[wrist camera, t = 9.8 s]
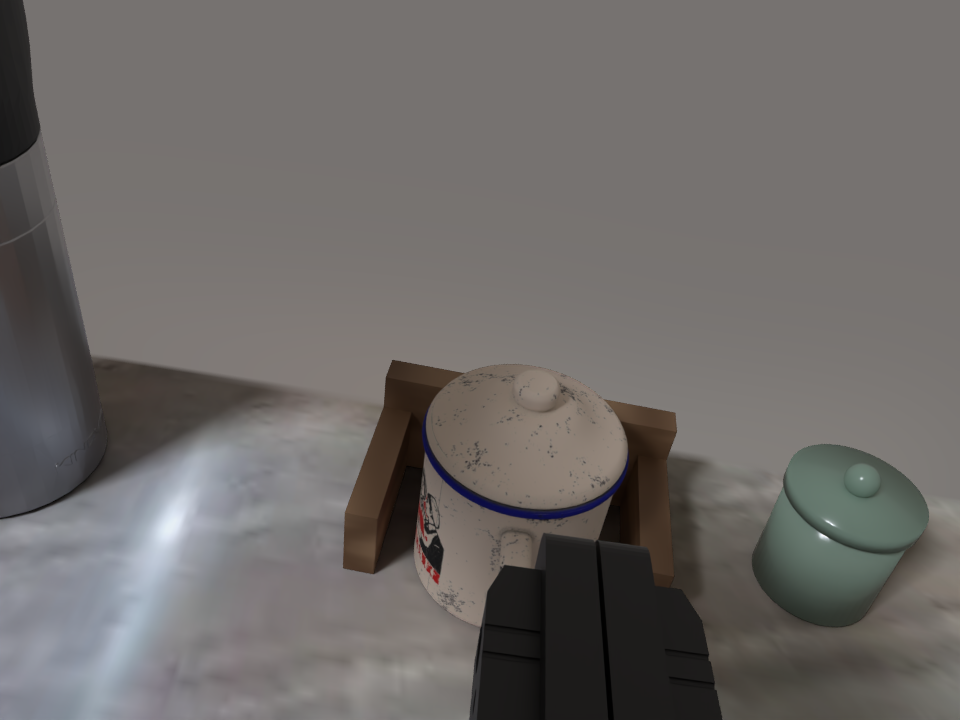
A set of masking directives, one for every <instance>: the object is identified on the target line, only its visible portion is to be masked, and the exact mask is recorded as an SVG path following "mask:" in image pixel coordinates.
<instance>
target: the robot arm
mask: <svg viewBox="0 0 960 720" xmlns="http://www.w3.org/2000/svg"><path fill="white" fill-rule="evenodd" d="M106 445H107V429H106V425H105V420H104V415H103V411H102V406H101V402H100V397H99V393H98V388H97V383H96V379H95V373H94V368H93V364H92V359H91V355H90V350H89V346H88V342H87V337H86V333H85V328H84V324H83V319H82V314H81V310H80V305H79V300H78V296H77V291H76V287H75V283H74V278H73V273H72V269H71V264H70V260H69V255H68V251H67V246H66V242H65V237H64V233H63V228H62V224H61V219H60V215H59V210H58V206H57V201H56V197H55V193H54V189H53V184H52V179H51V174H50V170H49V165H48V161H47V156H46V152H45V147H44V142H43V139H42V133H41V129H40V123H39V118H38V113H37V109H36V105H35V99H34V92H33V84H32V70H31V57H30V44H29V36H28V30H27V22H26V15H25V10H24V5H23V0H0V517H7V516H11V515H15V514H19V513H23V512H27V511H30V510H33V509H36V508H38V507H41V506H43V505H46V504H48V503H51V502H52V501H54V500H56V499H58V498H60V497H61V496H63V495H65V494H67V493H69V492H70V491H71V490H73V489H74V488H75V487H77V486H78V485H79V484H80V483H82V482H83V481H84V480H85V479H86V478H87V477H88V476H89V475H90V474H91V473H92V472H93V471H94V469H95V468H96V467H97V465H98V464H99V462H100V460H101V459H102V457H103V455H104V452H105V449H106ZM708 656H709V653H708V648H707V643H706V638H705V634H704V629H703V624H702V620H701V619H700V617H699V616H698V614H697V613H696V611H695V610H694V608H693V607H692V605H691V604H690V602H689V601H688V599H687V598H686V596H685V595H684V593H683V591H682V590H681V589H674V588H667V587H660V586H655V582H654V576H653V569H652V563H651V557H650V552H649V550H648V548H647V547H643V546H636V545H629V544H622V543H615V542H607V541H600V540H596V541H595V542H594V540H592V539H585V538H578V537H570V536H563V535H556V534H549V533H543V535H542V538H541V542H540V546H539V551H538V555H537V560H536V564H535V569H531V568H524V567H517V566H510V565H504V566H503V568H502V569H501V571H500V572H499V574H498V575H497V577H496V578H495V580H494V582H493V583H492V585H491V586H490V588H489V589H488V591H487V596H486V602H485V607H484V613H483V618H482V624H481V629H480V635H479V640H478V646H477V651H476V657H475V664H474V675H473V686H472V698H471V707H470V718H469V720H722V715H721V710H720V706H719V701H718V696H717V691H716V690H714V684H715V682H714V677H713V672H712V667H711V662H710V661H708Z"/></svg>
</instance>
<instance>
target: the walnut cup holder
mask: <svg viewBox="0 0 960 720" xmlns="http://www.w3.org/2000/svg"><path fill="white" fill-rule="evenodd" d="M463 374H465V373H460V372H454V371H449V370H444V369H439V368H433V367H428V366H422V365H417V364H412V363H407V362H401V361H395V360H392V363H391V365H390V368H389V371H388V373H387V376H386V383H385V398H384V408H383V410H382V413H381V416H380V419H379V421H378V424H377V427H376V429H375V432H374V435H373V438H372V440H371V443H370V446H369V448H368V451H367V454H366V457H365V459H364V462H363V465H362V468H361V470H360V473H359V476H358V478H357V481H356V484H355V487H354V489H353V492H352V495H351V497H350V500H349V503H348V506H347V508H346V511H345V525H344V556H343V568H345V569H350V570H355V571H360V572H365V573H370V574H374V571H375V568H376V564H377V561H378V558H379V555H380V551H381V548H382V545H383V541H384V538H385V535H386V532H387V528H388V525H389V522H390V518H391V515H392V512H393V509H394V505H395V502H396V499H397V495H398V492H399V489H400V486H401V482H402V479H403V476H404V472H405V469H406V466H412V467H417V468H422V469H423V466H424V458H425V449H424V446H423V440H422V427H423V421H424V417H425V414H426V412H427V410H428V408H429V406H430V404H431V403H432V401H433V400H434V398H435V397H436V395H437V394H438V393H439V392H440V391H441V390H442V389H443V388H444V387H445V386H446V385H447V384H448V383H450V382H451V381H452V380H454V379H455V378H457V377H459V376H461V375H463ZM603 400H604V399H603ZM604 401H606V402H607V404H608V405H609V406H610V407H611V408H612V409H613V411H614V412H615V414H616V415H617V417H618V419H619V420H620V422H621V424H622V427H623V429H624V432H625V435H626V438H627V444H628V452H629V461H628V468H627V472H626V475H625V477H624V480H623V482H622V483H621V485H620V487H619V488H618V489H617V490H616V492H615V493H614V494H613V496H612V499H611V502H610V505H615V506H620V543H622V544H629V545H636V546H643V547H647V548H648V550H649V552H650V557H651V563H652V569H653V576H654V582H655V586H660V587H667V588H670V585H671V583H672V581H673V579H674V565H673V550H672V535H671V521H670V506H669V491H668V477H667V462H666V460H667V457H668V454H669V452H670V449H671V446H672V444H673V441H674V438H675V436H676V433H677V427H676V416H675V413H673V412H668V411H663V410H657V409H652V408H647V407H642V406H636V405H631V404H625V403H620V402H615V401H609V400H604Z"/></svg>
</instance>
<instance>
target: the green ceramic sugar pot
mask: <svg viewBox="0 0 960 720" xmlns="http://www.w3.org/2000/svg"><path fill="white" fill-rule="evenodd" d="M928 520H929V511H928V507H927V504H926V502H925V500H924V498H923V496H922V494H921V493H920V491H919V490H918V489H917V487H916V486H915V485H914V484H913V483H912V482H911V481H910V480H909V479H908V478H907V477H906V476H905V475H903V474H902V473H901V472H900V471H898V470H897V469H896V468H894V467H893V466H891V465H890V464H888V463H886V462H884V461H883V460H881V459H879V458H877V457H875V456H873V455H871V454H868V453H865V452H863V451H860V450H857V449H854V448H850V447H846V446H840V445H831V444H820V445H813V446H808V447H806V448H803V449H801V450H800V451H798V452H797V453H796V454H795V455H794V456H793V457H792V459H791V461H790V463H789V465H788V467H787V469H786V472H785V474H784V479H783V489H782V491H781V493H780V495H779V497H778V499H777V502H776V504H775V506H774V508H773V510H772V512H771V515H770V517H769V519H768V521H767V523H766V525H765V528H764V530H763V532H762V534H761V536H760V538H759V541H758V543H757V545H756V547H755V549H754V552H753V556H752V567H753V571H754V574H755V577H756V579H757V581H758V583H759V584H760V586H761V587H762V589H763V590H764V591H765V592H766V593H767V595H768V596H769V597H770V598H771V599H772V600H773V601H774V602H776V603H777V604H778V605H779V606H781V607H782V608H783V609H785V610H786V611H788V612H789V613H791V614H793V615H794V616H797V617H799V618H801V619H803V620H806V621H808V622H811V623H814V624H818V625H823V626H831V627H839V626H847V625H850V624H853V623H855V622H857V621H859V620H860V619H861V618H863V617H864V615H865V614H866V613H867V611H868V610H869V608H870V606H871V605H872V603H873V602H874V600H875V598H876V597H877V595H878V594H879V592H880V590H881V589H882V587H883V586H884V584H885V582H886V581H887V579H888V578H889V576H890V574H891V573H892V571H893V570H894V568H895V566H896V565H897V563H898V562H899V560H900V558H901V557H902V555H903V554H904V552H905V550H906V549H908V548H910V547H911V546H913V545H914V544H915V543H916V542H917V540H918V539H919V537H920V536H921V534H922V533H923V531H924V530H925V528H926V526H927V524H928Z"/></svg>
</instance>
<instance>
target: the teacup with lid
mask: <svg viewBox="0 0 960 720" xmlns="http://www.w3.org/2000/svg"><path fill="white" fill-rule="evenodd" d="M422 440H423V446H424V449H425V458H424V466H423V475H422V484H421V492H420V501H419V509H418V518H417V526H416V535H415V544H414V558H415V565H416V569H417V572H418V575H419V577H420V579H421V581H422V583H423V585H424V587H425V588H426V590H427V591H428V593H429V594H430V595H431V596H432V598H433V599H434V600H435V601H436V602H437V603H438V604H439V605H440V606H442V607H443V608H444V609H445V610H446V611H448V612H449V613H451V614H452V615H454V616H456V617H457V618H459V619H461V620H463V621H465V622H467V623H470V624H472V625H475V626H478V627H481V624H482V618H483V613H484V607H485V602H486V596H487V591H488V589H489V588H490V586H491V585H492V583H493V582H494V580H495V578H496V577H497V575H498V574H499V572H500V571H501V569H502V568H503V566H504V565H510V566H517V567H524V568H531V569H535V564H536V560H537V555H538V551H539V546H540V542H541V538H542V535H543V533H549V534H556V535H563V536H570V537H578V538H585V539H592V540H594V542H595V541H596V540H598V538H599V535H600V532H601V529H602V526H603V523H604V520H605V517H606V514H607V511H608V508H609V505H610V502H611V499H612V496H613V494H614V493H615V492H616V490H617V489H618V488H619V487H620V485H621V483H622V482H623V480H624V477H625V475H626V472H627V468H628V461H629V452H628V444H627V438H626V435H625V432H624V429H623V427H622V424H621V422H620V420H619V419H618V417H617V415H616V414H615V412H614V411H613V409H612V408H611V407H610V406H609V405H608V404H607V402H606V401H604V400H603V399H602V398H601V397H600V396H599V395H598V394H596V393H595V392H594V391H593V390H591V389H590V388H589V387H587V386H585V385H584V384H582V383H581V382H579V381H577V380H575V379H573V378H571V377H568V376H566V375H564V374H561V373H558V372H555V371H552V370H549V369H545V368H541V367H535V366H529V365H517V364H503V365H494V366H487V367H482V368H479V369H475V370H472V371H470V372H467V373H465V374H463V375H461V376H459V377H457V378H455V379H454V380H452V381H451V382H450V383H448V384H447V385H446V386H445V387H444V388H443V389H442V390H441V391H440V392H439V393H438V394H437V395H436V397H435V398H434V400H433V401H432V403H431V404H430V406H429V408H428V410H427V412H426V414H425V417H424V421H423V427H422Z"/></svg>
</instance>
